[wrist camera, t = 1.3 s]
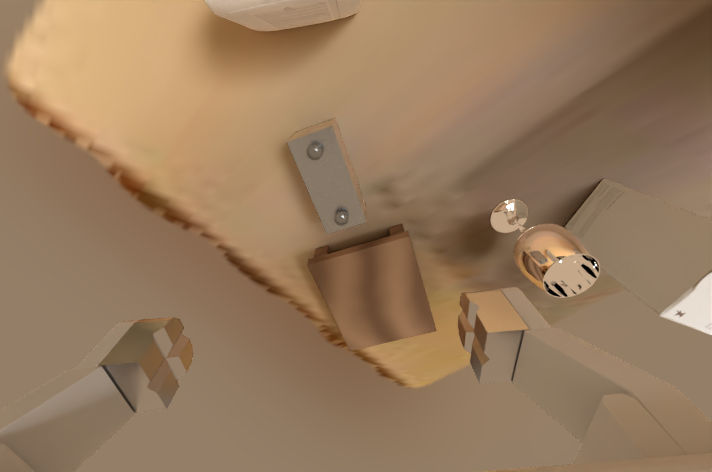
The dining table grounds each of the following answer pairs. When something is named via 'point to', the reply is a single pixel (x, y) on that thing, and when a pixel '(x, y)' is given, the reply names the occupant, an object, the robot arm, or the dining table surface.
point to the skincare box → (651, 251)
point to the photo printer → (282, 12)
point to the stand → (374, 290)
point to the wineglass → (547, 252)
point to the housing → (328, 175)
